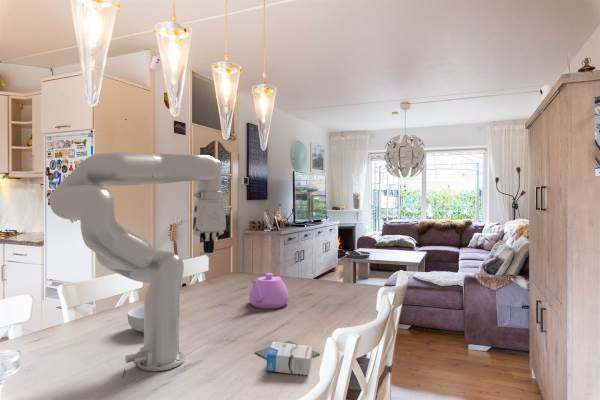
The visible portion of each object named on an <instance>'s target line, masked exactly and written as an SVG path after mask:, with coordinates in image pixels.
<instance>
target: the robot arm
mask: <svg viewBox="0 0 600 400" xmlns="http://www.w3.org/2000/svg"><path fill="white" fill-rule="evenodd" d="M193 181H197V191H196V192H194V194H193V197H194V198H196V200H195V202H194V203H195V204H194V208H193V212H192V213H193V215H192V216H193V217H192V229H193V233H192V234H193V236H198V237H199V238H201V240H202V241H203V245H202V247H203V252H204V254H213V253H214V250H215V241H216V239H217V237H218V236H221V235H223V234H224V233H225V230H226V227H227V218H226V208H225V207H226V206H225V204H224V201H222V162H221V160H219V159H215V158H214V157H213V156H211V155H208V154H207V155H206V154H175V153H174V154H172V153H163V152H162V153H161V152H160V153H159V152H158V153H155V152H154V153H153V152H126V151H125V152H123V151H121V152H119V151H118V152H114V151H113V152H103V153H95V154H91V155H90V156H89V157H87V158H86V159H84V160H83V161H82V162H81V163H79V165H77V167H75V169H73V170H72V172H70V174H68V176H66V178H65V179H63V181H61V182H60V183H59V185H57V186H56V188H54V190H53V192H52V193H51V196H50V199H49V206H50V209H51V212H52V213H54V215H56V216H57V217H59V218H62V219H64V220H69V221H70V220H71V221H72V220H74V221H80V232H81V236H82V240H83V242H84V245H85V246H86V247H87V248H88V249H89V250H90V251H93V252H94V253H95V257H96V260H97V262H98V263H99V264H100V265H101V266H103V268H105V269H107V270H110V271H111V272H114V273H116V274H118V275H120V276H123V277H125V278H127V279H130V280H133V281H134V282H135V281H136V282H140V283H145V284H149V288H148V290H147V292H146V293H145V296H144V301H143V303H144V304H143V306H144V333H143V346H142V347H140V349H139V351H137V352H136V353H131V354H128V355H126V356H125V358H124V360H125V363H126V364H129V363H132V362H133V364H136V365H137V368H139V369H141V370H143V371H147V372H161V371H167V370H171V369H174V368H176V367H178V366H180V365H182V364H183V363H184V362H185V357H186V356H185V353H184V352H183V351H180V310H181V309H180V303H181V300H180V297H181V285H182V280H183V275H184V269H185V268H184V267H185V266H184V261H183V260H182V258H181V256H180V255H178V254H176V253H174V252H172V251H168V250H161V249H160V250H158V249H154V248H153V245H152V244H151V243H150V242H149V240H147V239H145V238H143V237H141V236H140V235H137V234H136V233H135V232H133V231H131V230H129V229H127V228H125V227H124V226H122V225H121V224H119V223H118V221H117V219H116V215H115V202H114V199H113V198H114V197H113V196H112V194H111V193H110V192H109V191H108V190H107V189H106V188H105V187H106V186H107V187H110V186H113V187H115V186H116V187H117V186H118V187H119V186H120V187H121V186H125V187H126V186H139V185H158V184H161V185H163V184H164V185H165V184H171V183H180V182H193ZM104 186H105V187H104Z"/></svg>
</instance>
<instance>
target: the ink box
mask: <svg viewBox="0 0 600 400" xmlns="http://www.w3.org/2000/svg"><path fill="white" fill-rule="evenodd" d="M297 344H298V343H296V344H289V343H284V342H280V341H272V343H271V344H270V346H269V347H270V349H269V351H268V353H267V359H266V366H265V367H266V368H265V370H266V371H267V372H274V373H281V374H282V373H284V374H290V375H291V374H292V375H298V374H300V376H306V375H308V374H310V369H311V365H312V359H313V358H312V350H313V346H311V345H303V344H298V345H297ZM313 351H314V350H313ZM302 374H303V375H302ZM308 376H309V375H308Z"/></svg>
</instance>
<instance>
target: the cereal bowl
mask: <svg viewBox="0 0 600 400" xmlns="http://www.w3.org/2000/svg"><path fill="white" fill-rule="evenodd" d="M127 322H128V324H129V326H130V328H132V329H133V330H135V331H138V332H142V333H143V334H144V305H140V306H136V307H134V308H131V309H130V310H128V312H127Z"/></svg>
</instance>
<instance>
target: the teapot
mask: <svg viewBox="0 0 600 400" xmlns="http://www.w3.org/2000/svg"><path fill="white" fill-rule="evenodd" d="M250 282H252V286H251V288H250V291H249V294H248V302H250V304H251V306H253V307H255V308H258V309H266V310H271V309H273V310H274V309H278V308H279V309H280V308H283V307H285V305H287V303H288V302H289V299H290V296H289V291H288V288H287V286H286V285H285V283H284V281H283V278H282V277H281V276H278V275H277V276H274V273H271V272H268V273H265V275H264V276H259V277H258V278H256V280H254V279H250Z"/></svg>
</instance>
